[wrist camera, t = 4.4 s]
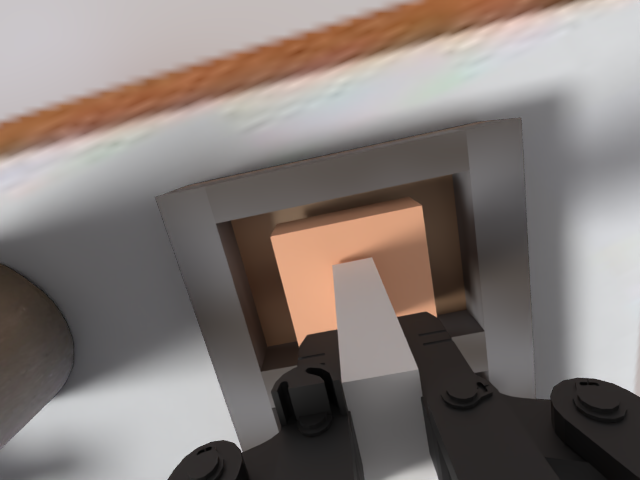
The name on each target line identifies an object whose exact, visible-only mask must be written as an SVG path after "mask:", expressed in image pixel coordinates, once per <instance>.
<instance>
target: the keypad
mask: <svg viewBox="0 0 640 480" xmlns="http://www.w3.org/2000/svg"><path fill="white" fill-rule="evenodd" d="M404 197H410V198H412V199H413V200H415V201H416V202H418V203H419V204H421V205H422V209H423V217H424V224H425V232H426V239H427V247H428V254H429V261H430V269H431V276H432V284H433V291H434V299H435V306H436V313H437V318H439V319H440V321H441V322H442V324H443V325H444V327H445V328H446V331H447V332H448V333H449V335H450V336H451V338H452V341H454V342H455V344H456V346H457V347H458V349H459V350H460V352H461V353H462V355H463V356H464V358H465V360H466V361H467V363H468V364H469V366H470V367H471V369H472V370H473V372H474V373H475V375H477V376H480V377H482V378H484V379H486V380H488V381H489V382H490V383H491V384H492V385H493V386H494V387H496V388H497V389H498V391H499V392H500V393H502V394H505V395H509V396H513V397H520V398H530V399H536V389H535V370H534V351H533V331H532V312H531V293H530V274H529V255H528V235H527V216H526V197H525V178H524V158H523V139H522V120H521V118H511V119H501V120H491V121H480V122H476V123H471V124H466V125H462V126H457V127H453V128H448V129H443V130H439V131H434V132H430V133H425V134H421V135H416V136H411V137H407V138H402V139H398V140H393V141H389V142H384V143H379V144H375V145H370V146H366V147H361V148H356V149H352V150H347V151H343V152H338V153H334V154H329V155H324V156H320V157H315V158H311V159H306V160H302V161H297V162H292V163H288V164H283V165H279V166H274V167H269V168H265V169H260V170H256V171H251V172H247V173H242V174H237V175H233V176H228V177H224V178H219V179H215V180H210V181H205V182H201V183H196V184H192V185H187V186H185V187H182V188H179V189H176V190H174V191H171V192H168V193H165V194H163V195H160V196H157V197H155V198H156V201H157V204H158V207H159V210H160V213H161V216H162V219H163V222H164V225H165V227H166V230H167V233H168V236H169V239H170V242H171V245H172V248H173V251H174V254H175V256H176V259H177V262H178V265H179V268H180V271H181V274H182V277H183V280H184V283H185V285H186V288H187V291H188V294H189V297H190V300H191V303H192V306H193V309H194V312H195V315H196V317H197V320H198V323H199V326H200V329H201V332H202V335H203V338H204V341H205V344H206V346H207V349H208V352H209V355H210V358H211V361H212V364H213V367H214V370H215V373H216V375H217V378H218V381H219V384H220V387H221V390H222V393H223V396H224V399H225V402H226V404H227V407H228V410H229V413H230V416H231V419H232V422H233V425H234V428H235V431H236V433H237V436H238V439H239V442H240V445H241V448H242V451H243V452H244V451H247V450H249V449H251V448H253V447H255V446H258V445H260V444H262V443H264V442H266V441H267V440H269V439H271V438H272V437H274V436H275V435H276V434H277V433H279V432H280V431H281V424H280V421H279V418H278V414H277V411H276V408H275V404H274V401H273V398H272V394H271V390H272V388H273V386H274V384H275V382H276V381H277V380H278V379H279V378H280V377H281V376H282V375H283V374H285V373H286V372H288V371H290V370H291V369H293V368H295V367H297V362H298V353H299V345H298V341H297V337H296V334H295V330H294V326H293V322H292V318H291V314H290V311H289V307H288V303H287V299H286V295H285V292H284V288H283V284H282V280H281V276H280V272H279V269H278V265H277V261H276V257H275V253H274V250H273V246H272V242H271V238H270V236H271V234H272V232H273V230H274V228H275V226H276V224H278V223H283V222H288V221H293V220H298V219H303V218H307V217H312V216H317V215H322V214H327V213H331V212H336V211H341V210H346V209H351V208H356V207H360V206H365V205H370V204H375V203H380V202H384V201H389V200H394V199H399V198H404Z"/></svg>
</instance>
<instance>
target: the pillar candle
mask: <svg viewBox="0 0 640 480" xmlns="http://www.w3.org/2000/svg"><path fill="white" fill-rule="evenodd" d="M73 352H74V346H73V340H72V336H71V333H70V331H69V328H68V325H67V323H66V321H65V319H64V318H63V317H62V314H61V312H60V311H59V309H58V308H57V306H55V304H54V302H53V301H52V300H51V299H49V298H48V297H47V295H46V294H45V293H44V292H43V291H41V290H40V289H39V288H37V287H36V286H35V285H34V284H32V283H31V282H30V281H28V280H27V279H26V278H24V277H23V276H21V275H20V274H18V273H17V272H15V271H14V270H12V269H10V268H8V267H7V266H4V265H2V264H0V449H1V448H2V447H3V446H4V445H5V444H6V443H7V442H8V441H9V440H10V439H11V438H12V437H14V436H15V435H16V434H17V433H18V432H19V431H20V430H21V429H22V428H23V427H24V426H25V425H26V424H27V423H28V422H29V421H30V420H31V419H32V418H33V417H34V416H35V415H36V414H37V413H38V412H39V411H40V410H41V409H42V408H43V407H44V406H45V405H46V404H47V403H48V402H49V401H50V400H51V399H52V398H53V397H54V396H55V395H56V394H57V393H58V392H59V390H60V389H61V388H62V387H63V385H64V384H65V382H66V381H67V379H68V376H69V374H70V372H71V369H72V366H73V355H74V354H73Z"/></svg>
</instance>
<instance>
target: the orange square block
mask: <svg viewBox="0 0 640 480" xmlns="http://www.w3.org/2000/svg"><path fill="white" fill-rule="evenodd" d="M270 238H271V242H272V246H273V250H274V253H275V257H276V261H277V265H278V269H279V272H280V276H281V280H282V284H283V288H284V292H285V295H286V299H287V303H288V307H289V311H290V314H291V318H292V322H293V326H294V330H295V334H296V337H297V341H298V345H299V346H300V344H301V343H302V341H303V340H304V339H305V337H306V336H307V335H309V334H314V333H320V332H325V331H330V330H336V329H337V318H336V305H335V293H334V280H333V268H332V265H336V264H341V263H346V262H351V261H356V260H361V259H366V258H371V257H372V258H373V261H374V263H375V266H376V268H377V270H378V273H379V275H380V278H381V280H382V283H383V285H384V287H385V290H386V292H387V295H388V297H389V299H390V302H391V304H392V307H393V309H394V311H395V314H396V316H397V317H399V316H404V315H409V314H415V313H420V312H425V311H427V312H428V313H430V314H432V315H434V316H435V317H437V313H436V306H435V299H434V291H433V284H432V276H431V269H430V261H429V254H428V247H427V239H426V232H425V224H424V217H423V209H422V205H421V204H419V203H418V202H416V201H415V200H413V199H412V198H410V197H404V198H399V199H394V200H389V201H384V202H380V203H375V204H370V205H365V206H360V207H356V208H351V209H346V210H341V211H336V212H331V213H327V214H322V215H317V216H312V217H307V218H303V219H298V220H293V221H288V222H283V223H278V224H276V226H275V228H274V230H273V232H272V234H271V236H270Z"/></svg>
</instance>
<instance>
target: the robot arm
mask: <svg viewBox="0 0 640 480" xmlns="http://www.w3.org/2000/svg"><path fill="white" fill-rule="evenodd" d="M332 268H333V280H334V293H335V305H336V318H337V329H336V330H330V331H325V332H320V333H314V334H309V335H307V336H306V337H305V339H304V340H303V341H302V343H301V344H300V346H299V353H298V362H297V367H295V368H293V369H291V370H290V371H288V372H286V373H285V374H283V375H282V376H281V377H280V378H279V379H278V380H277V381H276V382H275V384H274V386H273V388H272V390H271V394H272V398H273V401H274V404H275V408H276V411H277V414H278V418H279V421H280V424H281V431H280V432H279V433H277V434H276V435H275V436H274V437H272V438H271V439H269V440H267V441H266V442H264V443H262V444H260V445H258V446H255V447H253V448H251V449H249V450H247V451H244V452H242V453H241V450H240V449H239V448H238V447H237V446H236V445H235V444H234V443H232V442H229V441H225V440H221V441H214V442H210V443H207V444H205V445H203V446H200V447H198V448H197V449H195V450H194V451H193V452H191V453H190V454H189V455H187V456H186V457H185V458H184V459H183V460H182V461H181V462H180V464H179V465H178V466H177V467H176V468H175V469H174V471H173V472H172V474H171V475H170V477H169V478H168V480H421V479H427V478H433V477H435V471H434V467H435V470H436V473H437V476H438V479H439V480H640V397H639V396H637V395H635V394H633V393H632V392H630V391H628V390H626V389H624V388H622V387H619V386H617V385H615V384H613V383H609V382H605V381H601V380H597V379H589V378H574V379H569V380H564V381H562V382H560V383H559V384H557V385H556V386H554V388H553V390H552V393H551V396H550V398H551V400H544V399H530V398H520V397H513V396H509V395H505V394H502V393H500V392H499V391H498V389H497V388H496V387H494V386H493V385H492V384H491V383H490V382H489V381H488V380H486V379H484V378H482V377H480V376H477V375H475V373H474V372H473V370H472V369H471V367H470V366H469V364H468V363H467V361H466V360H465V358H464V356H463V355H462V353H461V352H460V350H459V349H458V347H457V346H456V344H455V342H454V341H452V338H451V336H450V335H449V333H448V332H447V331H446V328H445V327H444V325H443V324H442V322H441V321H440V319H439V318H437V317H435V316H434V315H432V314H430V313H428V312H427V311H425V312H420V313H415V314H409V315H404V316H399V317H397V316H396V314H395V311H394V309H393V307H392V304H391V302H390V299H389V297H388V295H387V292H386V290H385V287H384V285H383V283H382V280H381V278H380V275H379V273H378V270H377V268H376V266H375V263H374V261H373V258H372V257H371V258H366V259H361V260H356V261H351V262H346V263H341V264H336V265H332Z"/></svg>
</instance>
